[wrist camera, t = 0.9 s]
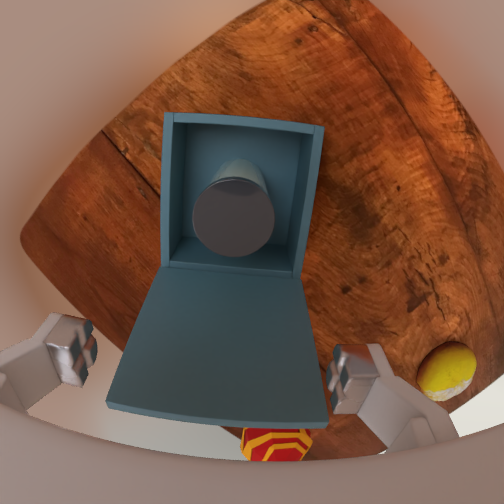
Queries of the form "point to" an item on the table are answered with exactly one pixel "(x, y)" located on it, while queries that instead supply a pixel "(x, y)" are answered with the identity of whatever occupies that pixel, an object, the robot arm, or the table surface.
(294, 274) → the chest
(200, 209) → the jar
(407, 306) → the table surface
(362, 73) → the table surface
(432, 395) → the fruit
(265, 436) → the potion bottle
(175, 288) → the lid
